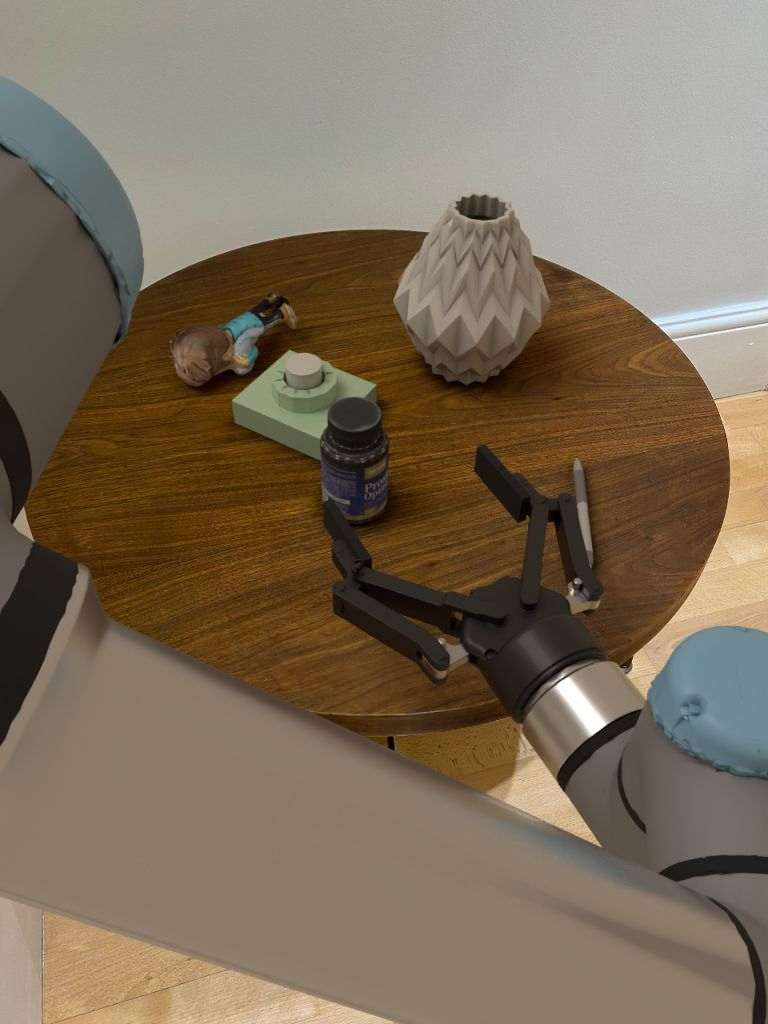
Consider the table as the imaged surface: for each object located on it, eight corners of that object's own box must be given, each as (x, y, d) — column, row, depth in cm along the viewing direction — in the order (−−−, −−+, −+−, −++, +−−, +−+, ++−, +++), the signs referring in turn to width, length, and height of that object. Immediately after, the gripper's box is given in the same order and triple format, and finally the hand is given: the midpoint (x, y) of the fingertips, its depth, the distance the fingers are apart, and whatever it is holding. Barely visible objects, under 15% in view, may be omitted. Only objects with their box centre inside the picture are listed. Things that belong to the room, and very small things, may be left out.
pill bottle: (374, 534, 80) (376, 444, 72) (312, 517, 81) (307, 427, 73) (395, 488, 84) (399, 399, 76) (336, 473, 85) (334, 384, 77)
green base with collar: (234, 422, 90) (229, 384, 86) (290, 371, 96) (288, 334, 92) (323, 462, 86) (322, 424, 83) (376, 407, 92) (377, 369, 88)
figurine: (162, 372, 95) (152, 325, 91) (273, 316, 103) (269, 271, 98) (203, 405, 92) (195, 358, 87) (315, 344, 99) (313, 298, 95)
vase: (551, 338, 101) (581, 185, 87) (513, 425, 91) (541, 266, 77) (419, 306, 105) (428, 155, 91) (368, 386, 94) (370, 229, 81)
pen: (581, 574, 77) (584, 564, 76) (570, 465, 87) (572, 454, 86) (593, 575, 77) (596, 565, 76) (580, 465, 87) (583, 455, 86)
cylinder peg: (279, 383, 87) (277, 367, 86) (299, 364, 89) (298, 348, 88) (309, 396, 86) (308, 379, 84) (329, 376, 88) (328, 360, 87)
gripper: (393, 804, 55) (262, 569, 67) (696, 652, 63) (530, 468, 76) (397, 746, 49) (254, 502, 62) (729, 588, 58) (543, 402, 70)
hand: (405, 483), depth 69 cm, fingers open, 13 cm apart
